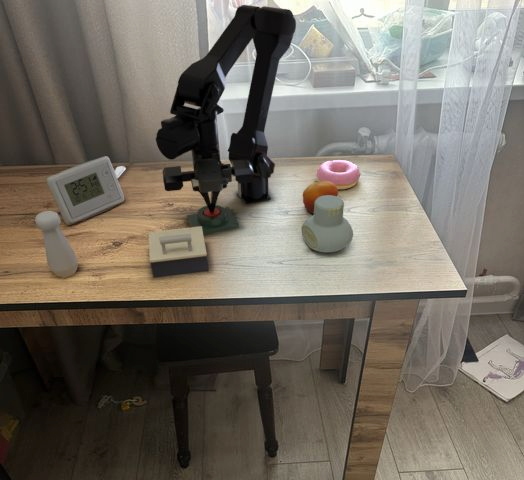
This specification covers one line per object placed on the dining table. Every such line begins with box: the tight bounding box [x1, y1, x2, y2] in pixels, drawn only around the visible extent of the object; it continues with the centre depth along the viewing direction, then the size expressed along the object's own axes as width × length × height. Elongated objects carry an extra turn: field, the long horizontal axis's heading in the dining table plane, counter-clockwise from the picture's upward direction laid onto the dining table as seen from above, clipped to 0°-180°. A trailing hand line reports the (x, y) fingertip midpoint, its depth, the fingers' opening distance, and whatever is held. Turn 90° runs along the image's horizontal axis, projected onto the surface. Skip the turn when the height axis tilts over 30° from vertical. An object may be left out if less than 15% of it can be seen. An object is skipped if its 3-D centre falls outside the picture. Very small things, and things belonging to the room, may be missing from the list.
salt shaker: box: [34, 210, 79, 279], centre depth 98 cm, size 6×6×13 cm
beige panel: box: [148, 226, 208, 264], centre depth 100 cm, size 10×11×4 cm
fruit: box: [302, 181, 339, 214], centre depth 116 cm, size 8×8×8 cm
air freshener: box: [301, 195, 354, 253], centre depth 104 cm, size 11×8×10 cm
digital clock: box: [46, 155, 125, 226], centre depth 117 cm, size 16×9×11 cm, turn 124°
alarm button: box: [204, 208, 220, 217], centre depth 113 cm, size 4×4×2 cm
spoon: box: [114, 165, 127, 180], centre depth 130 cm, size 5×18×1 cm, turn 171°
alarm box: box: [186, 204, 240, 236], centre depth 114 cm, size 10×8×3 cm
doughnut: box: [315, 159, 362, 190], centre depth 126 cm, size 11×11×4 cm
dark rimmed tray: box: [150, 255, 210, 279], centre depth 103 cm, size 10×11×4 cm
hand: (211, 211), depth 113 cm, fingers closed, pressing on alarm button
